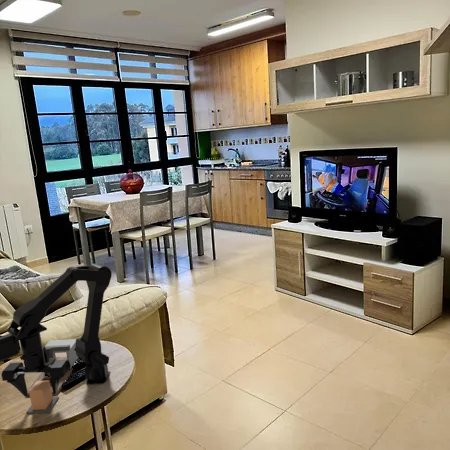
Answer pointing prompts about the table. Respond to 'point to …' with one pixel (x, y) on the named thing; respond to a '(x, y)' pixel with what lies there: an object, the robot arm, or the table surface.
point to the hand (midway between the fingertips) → (41, 394)
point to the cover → (63, 350)
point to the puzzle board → (44, 378)
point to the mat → (47, 410)
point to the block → (40, 395)
